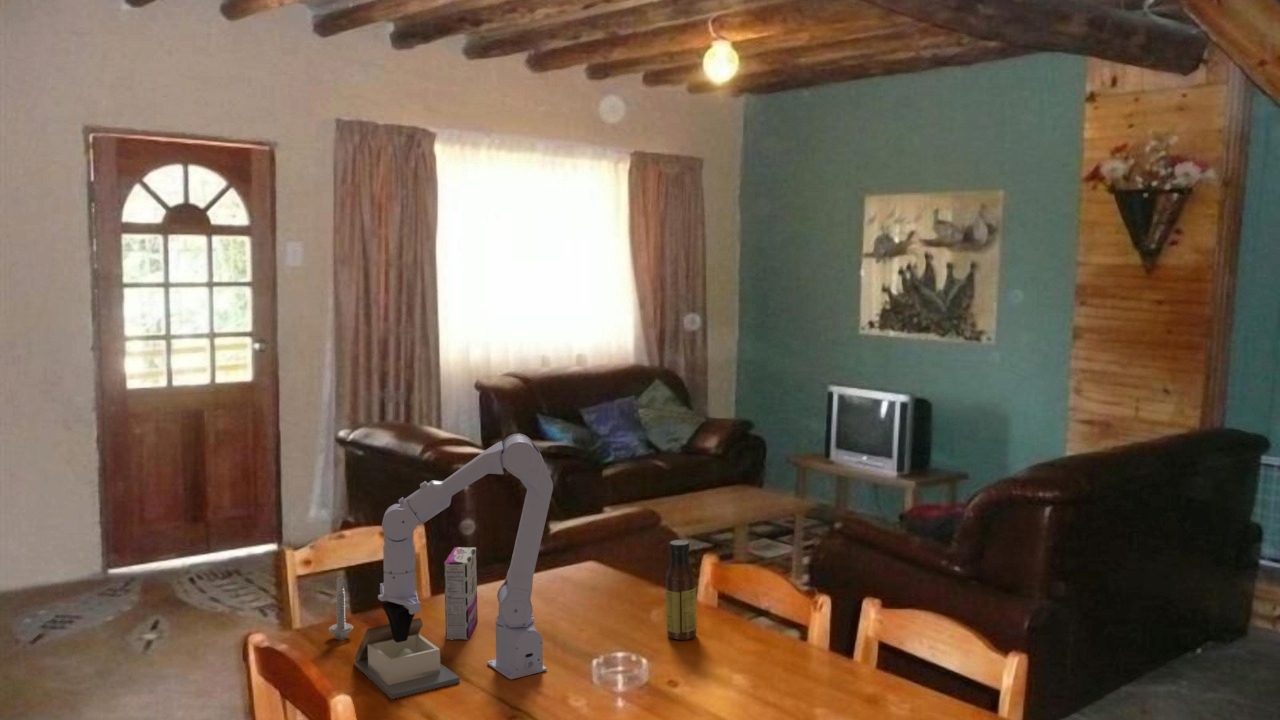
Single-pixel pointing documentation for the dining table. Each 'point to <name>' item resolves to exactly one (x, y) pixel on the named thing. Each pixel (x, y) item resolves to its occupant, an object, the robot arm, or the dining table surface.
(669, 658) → the dining table surface
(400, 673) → the open grey box
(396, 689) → the board
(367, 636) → the lid
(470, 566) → the candy bar box
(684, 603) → the sauce bottle
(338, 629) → the screw
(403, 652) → the ball
